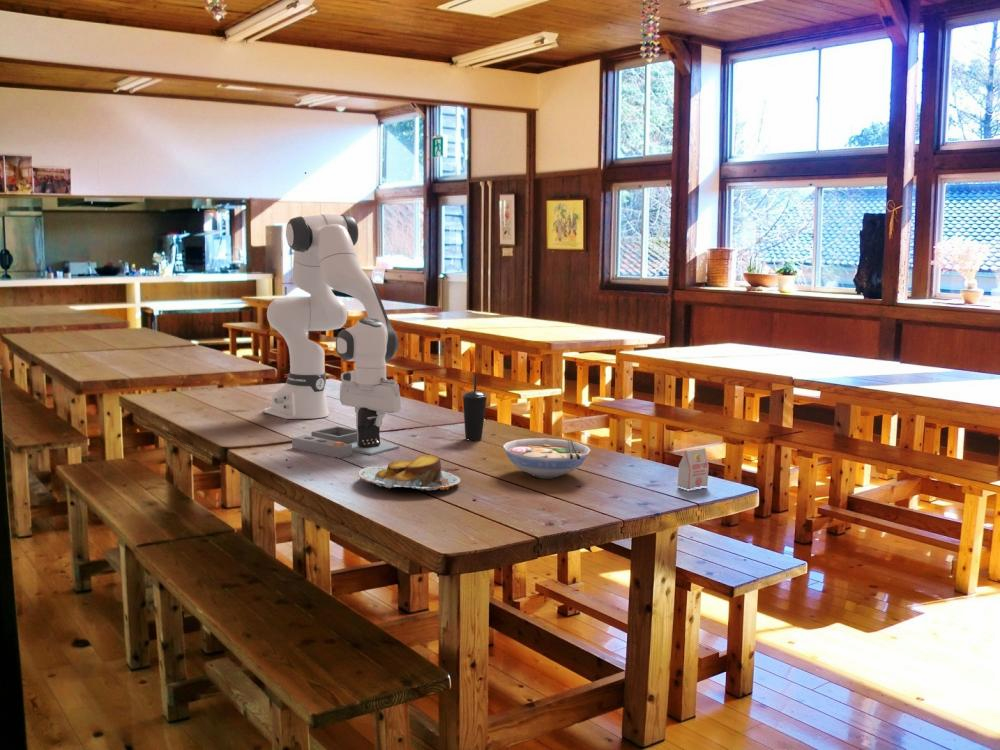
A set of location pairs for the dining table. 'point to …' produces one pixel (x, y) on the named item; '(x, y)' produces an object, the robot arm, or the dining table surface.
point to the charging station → (327, 441)
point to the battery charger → (367, 428)
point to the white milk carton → (693, 469)
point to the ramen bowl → (546, 456)
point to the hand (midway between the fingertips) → (369, 424)
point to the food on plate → (410, 474)
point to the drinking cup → (474, 412)
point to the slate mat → (373, 448)
